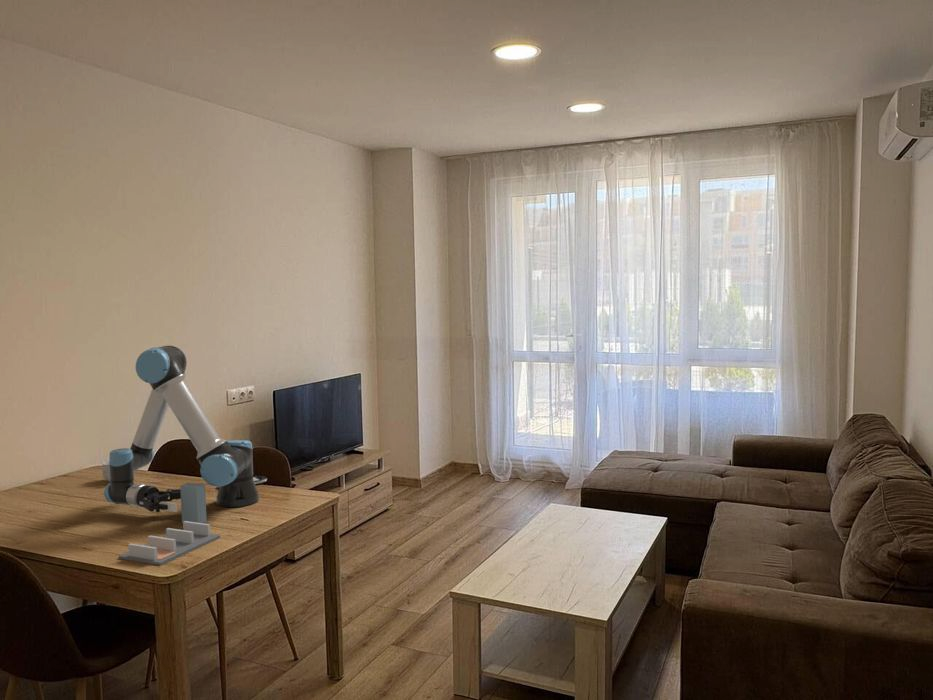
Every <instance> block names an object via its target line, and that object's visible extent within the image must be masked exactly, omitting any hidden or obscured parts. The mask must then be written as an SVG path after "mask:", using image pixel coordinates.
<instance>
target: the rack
mask: <svg viewBox="0 0 933 700" xmlns="http://www.w3.org/2000/svg"><path fill="white" fill-rule="evenodd" d="M182 524H183V525H182V528H183V529H179V528H178V529H177V528H171V527H167V528H165V535H164V536H156V535H148V536H147V543H146V544H137V543H128V545H127V548H128V551H127V552H123V553H122V554H119V555H118V559H120V560H126V561H131V562H139V563H143V564H144V563H145V564H150V565H154V566H155V565H156V566H162V565H165V564H166V563H169V562H171V561H174V560H176V559H178V558H179V557H182V556H184V555H186V554H188V553H191V552H193V551H195V550H197V549H199V548H202V547H203V546H205V545H207V544H210V543H211V542H215V541H216V540H219V539H221V535H220V534H216V533H215V534H214V533H211V524H210V523H209V524H208V523H197V522H190V521H184V522H183V523H182Z"/></svg>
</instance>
